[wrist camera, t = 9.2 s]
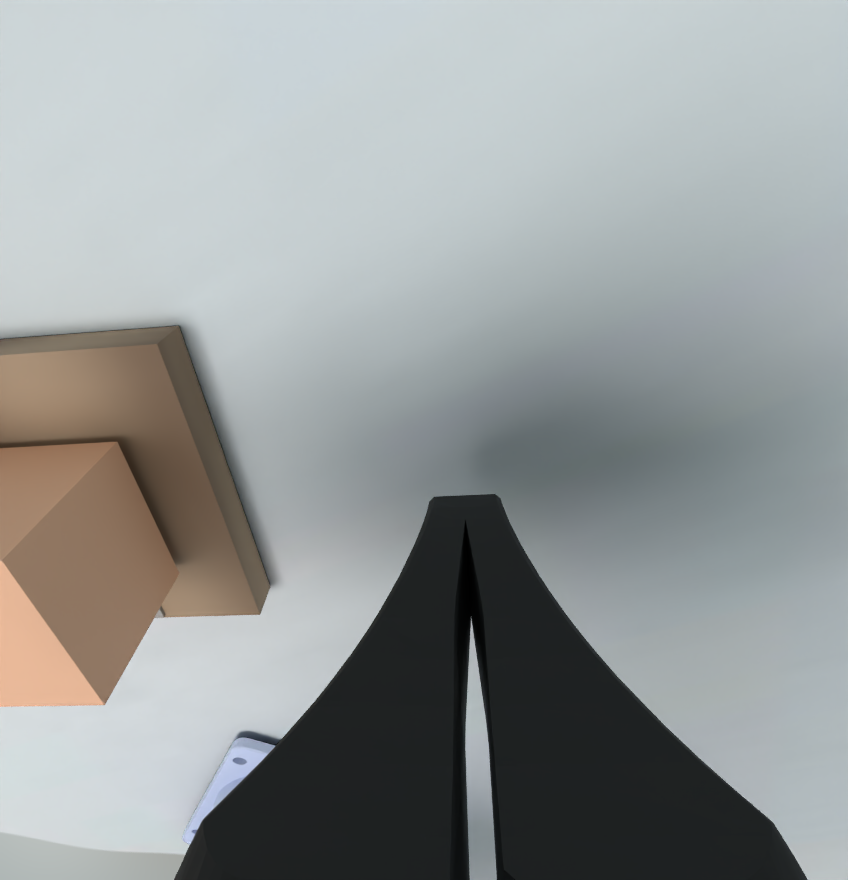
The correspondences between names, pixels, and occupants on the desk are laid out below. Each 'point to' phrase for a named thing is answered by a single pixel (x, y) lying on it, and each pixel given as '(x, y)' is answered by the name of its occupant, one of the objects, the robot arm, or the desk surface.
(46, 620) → the peach colored cube
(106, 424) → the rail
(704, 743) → the desk surface
